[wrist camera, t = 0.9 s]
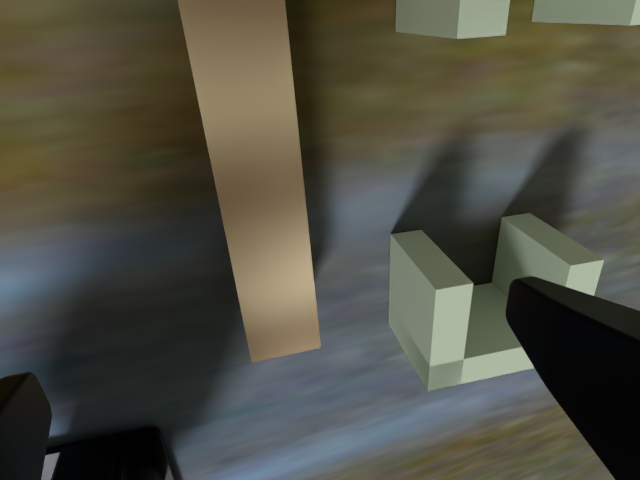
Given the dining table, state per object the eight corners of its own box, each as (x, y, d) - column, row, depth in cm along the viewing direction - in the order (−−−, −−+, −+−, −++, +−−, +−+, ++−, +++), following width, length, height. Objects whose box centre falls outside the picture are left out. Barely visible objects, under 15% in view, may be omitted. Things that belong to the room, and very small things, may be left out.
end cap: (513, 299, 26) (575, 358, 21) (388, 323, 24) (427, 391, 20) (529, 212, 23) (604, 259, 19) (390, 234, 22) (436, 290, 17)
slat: (303, 295, 23) (320, 347, 19) (244, 307, 22) (251, 362, 19) (261, -55, 16) (277, -73, 12) (174, -49, 15) (164, -66, 12)
